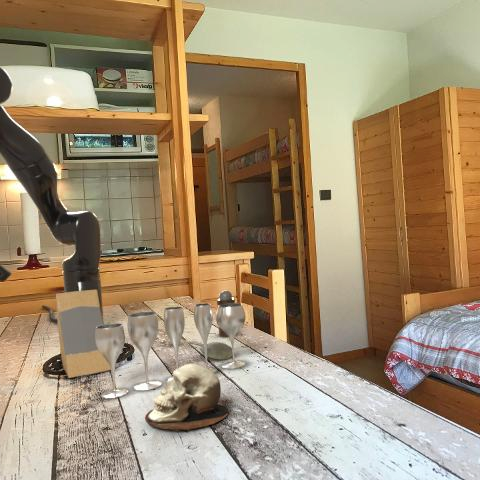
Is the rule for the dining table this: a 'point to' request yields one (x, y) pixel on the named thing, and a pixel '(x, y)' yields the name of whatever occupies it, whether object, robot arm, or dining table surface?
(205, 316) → the goblet set
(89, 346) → the sandwich container
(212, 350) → the soupspoon
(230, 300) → the pepper mill
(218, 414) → the skull
